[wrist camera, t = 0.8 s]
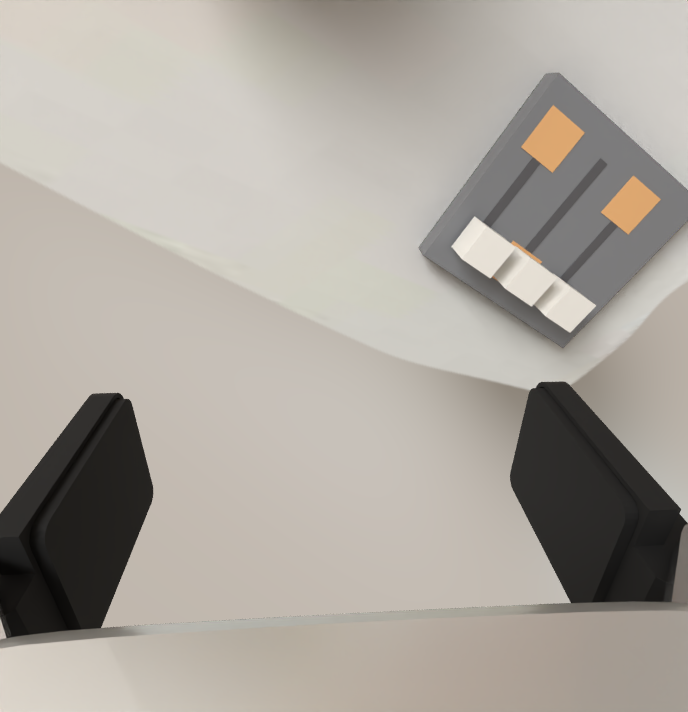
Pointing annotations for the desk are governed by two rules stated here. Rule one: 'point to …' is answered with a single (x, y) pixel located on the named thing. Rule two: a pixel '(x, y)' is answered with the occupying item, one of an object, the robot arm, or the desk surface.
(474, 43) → the desk surface
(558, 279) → the far slider knob
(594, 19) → the desk surface
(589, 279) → the switch panel
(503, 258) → the near slider knob
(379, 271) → the desk surface
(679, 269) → the desk surface
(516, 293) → the middle slider knob
